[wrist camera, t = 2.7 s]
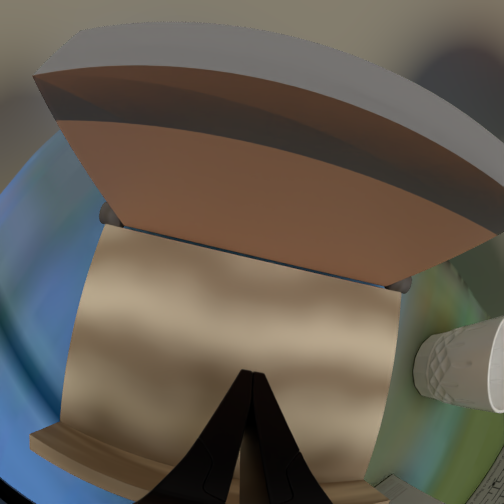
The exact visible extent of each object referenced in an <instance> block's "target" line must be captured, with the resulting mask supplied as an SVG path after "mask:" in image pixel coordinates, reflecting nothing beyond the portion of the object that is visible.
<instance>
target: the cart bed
mask: <svg viewBox="0 0 504 504" xmlns="http://www.w3.org/2000/svg"><path fill="white" fill-rule="evenodd" d="M99 219H100V222H101V223H102V224H105V226H104V229H103V231H102V234H101V237H100V240H99V242H98V245H97V248H96V251H95V254H94V257H93V260H92V263H91V266H90V269H89V272H88V275H87V279H86V282H85V285H84V289H83V292H82V296H81V300H80V303H79V307H78V311H77V315H76V319H75V324H74V328H73V333H72V338H71V343H70V348H69V353H68V359H67V365H66V371H65V378H64V386H63V394H62V404H61V416H60V422H58V423H55V424H53V425H51V426H48V427H46V428H43V429H41V430H39V431H36V432H34V433H31V434H29V435H30V450H32V451H33V452H35V453H36V454H38V455H39V456H41V457H43V458H44V459H46V460H47V461H49V462H51V463H52V464H54V465H56V466H58V467H59V468H61V469H63V470H65V471H67V472H68V473H70V474H72V475H74V476H76V477H78V478H80V479H82V480H84V481H86V482H88V483H91V484H93V485H95V486H97V487H99V488H102V489H104V490H106V491H109V492H111V493H114V494H116V495H119V496H122V497H124V498H127V499H130V500H133V501H138V500H139V499H141V498H142V497H144V496H145V495H146V494H147V493H149V492H150V491H151V490H152V489H153V488H154V487H155V486H156V485H157V484H158V483H159V482H160V481H161V480H162V479H163V478H164V477H165V476H166V475H167V474H168V473H169V472H170V471H171V470H172V469H173V468H174V467H175V466H176V465H177V464H178V463H179V462H180V461H181V460H182V459H183V457H184V456H185V455H186V454H187V452H188V451H189V450H190V448H191V447H192V445H193V444H194V442H195V441H196V439H197V438H198V437H199V435H200V434H201V432H202V431H203V429H204V428H205V426H206V424H207V423H208V421H209V420H210V418H211V417H212V415H213V414H214V412H215V410H216V409H217V407H218V406H219V404H220V403H221V401H222V399H223V398H224V396H225V395H226V393H227V391H228V390H229V388H230V386H231V385H232V383H233V382H234V380H235V378H236V377H237V375H238V373H239V372H240V370H241V369H246V370H251V371H252V372H253V371H257V372H262V373H264V374H265V375H266V378H267V380H268V382H269V384H270V387H271V389H272V391H273V393H274V396H275V398H276V400H277V402H278V404H279V407H280V409H281V411H282V413H283V415H284V417H285V420H286V422H287V424H288V426H289V428H290V430H291V432H292V435H293V437H294V439H295V441H296V443H297V445H298V447H299V449H300V451H299V452H301V453H302V455H303V457H304V459H305V461H306V463H307V465H308V467H309V469H310V471H311V472H312V474H313V475H314V477H315V478H316V480H317V482H318V483H319V484H320V486H321V487H322V489H323V490H324V492H325V493H326V494H327V496H328V497H329V499H330V500H331V501H332V503H333V504H389V502H390V499H388V498H387V497H386V496H384V495H383V494H382V493H380V492H379V491H378V490H376V489H375V488H374V487H372V486H371V485H370V484H368V483H367V482H366V481H365V480H363V479H364V476H365V473H366V471H367V468H368V465H369V462H370V459H371V456H372V453H373V449H374V446H375V443H376V439H377V436H378V432H379V429H380V425H381V421H382V417H383V413H384V409H385V405H386V400H387V395H388V391H389V386H390V380H391V375H392V369H393V363H394V357H395V350H396V343H397V335H398V326H399V315H400V303H401V293H403V294H405V293H407V292H408V291H409V289H410V287H411V283H412V278H411V276H410V277H408V278H406V279H403V280H401V281H398V282H396V283H393V284H391V285H388V286H384V287H385V289H383V288H379V287H374V286H370V285H365V284H361V283H356V282H352V281H348V280H343V279H339V278H334V277H330V276H326V275H321V274H317V273H312V272H308V271H304V270H299V269H295V268H291V267H286V266H282V265H278V264H273V263H269V262H265V261H260V260H256V259H252V258H247V257H243V256H239V255H235V254H230V253H226V252H222V251H217V250H213V249H209V248H205V247H200V246H196V245H192V244H188V243H184V242H179V241H175V240H171V239H167V238H163V237H158V236H154V235H150V234H146V233H142V232H137V231H133V230H129V229H125V228H123V227H124V225H123V223H122V222H121V221H120V219H119V218H118V217H117V215H116V214H115V212H114V211H113V210H112V208H111V207H110V205H109V204H108V203H107V202H105V203H104V204H103V205H102V207H101V210H100V214H99ZM239 491H240V451H239V455H238V459H237V463H236V467H235V471H234V474H233V478H232V482H231V486H230V489H229V493H228V497H227V500H226V502H225V503H226V504H239Z"/></svg>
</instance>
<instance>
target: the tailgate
mask: <svg viewBox="0 0 504 504" xmlns="http://www.w3.org/2000/svg"><path fill="white" fill-rule="evenodd" d="M32 76H33V78H34V80H35V83H36V85H37V86H38V88H39V91H40V92H41V94H42V96H43V98H44V100H45V102H46V104H47V106H48V108H49V109H50V111H51V113H52V115H53V117H54V119H55V120H56V122H57V124H58V126H59V127H60V129H61V131H62V133H63V134H64V136H65V138H66V139H67V141H68V143H69V144H70V146H71V148H72V149H73V151H74V153H75V154H76V156H77V157H78V159H79V161H80V162H81V164H82V165H83V167H84V168H85V170H86V171H87V173H88V175H89V176H90V178H91V179H92V181H93V182H94V184H95V185H96V187H97V188H98V189H99V191H100V192H101V194H102V195H103V197H104V198H105V200H106V201H107V203H108V204H109V205H110V207H111V208H112V210H113V211H114V212H115V214H116V215H117V217H118V218H119V219H120V221H121V222H122V223H123V225H124V226H128V227H133V228H137V229H141V230H145V231H149V232H154V233H158V234H162V235H166V236H171V237H175V238H179V239H183V240H188V241H192V242H196V243H200V244H205V245H209V246H213V247H217V248H222V249H226V250H230V251H234V252H239V253H243V254H247V255H252V256H256V257H260V258H264V259H269V260H273V261H277V262H282V263H286V264H290V265H295V266H299V267H303V268H308V269H312V270H316V271H321V272H325V273H329V274H334V275H338V276H342V277H347V278H351V279H355V280H360V281H364V282H368V283H373V284H377V285H382V286H388V285H391V284H393V283H396V282H398V281H401V280H403V279H406V278H408V277H410V276H413V275H415V274H417V273H420V272H422V271H424V270H427V269H429V268H431V267H434V266H436V265H438V264H440V263H442V262H445V261H447V260H449V259H451V258H453V257H455V256H457V255H460V254H462V253H464V252H466V251H468V250H470V249H472V248H474V247H476V246H478V245H480V244H482V243H484V242H486V241H488V240H490V239H492V238H493V237H495V236H497V235H499V234H501V233H503V232H504V144H503V143H502V142H501V141H500V140H498V139H497V138H496V137H495V136H494V135H492V134H491V133H490V132H489V131H488V130H486V129H485V128H484V127H482V126H481V125H480V124H478V123H477V122H476V121H474V120H473V119H472V118H470V117H469V116H467V115H466V114H465V113H463V112H462V111H460V110H459V109H457V108H456V107H454V106H453V105H451V104H450V103H448V102H447V101H445V100H443V99H442V98H440V97H438V96H437V95H435V94H433V93H432V92H430V91H428V90H426V89H425V88H423V87H421V86H419V85H417V84H416V83H414V82H412V81H409V80H408V79H406V78H404V77H402V76H400V75H398V74H396V73H394V72H392V71H389V70H387V69H385V68H383V67H381V66H378V65H376V64H374V63H371V62H369V61H367V60H364V59H361V58H359V57H356V56H354V55H351V54H348V53H346V52H343V51H340V50H337V49H334V48H331V47H328V46H324V45H321V44H318V43H315V42H311V41H307V40H304V39H300V38H296V37H292V36H288V35H283V34H278V33H274V32H269V31H264V30H258V29H252V28H246V27H239V26H231V25H221V24H211V23H195V22H146V23H132V24H121V25H113V26H104V27H98V28H92V29H86V30H81V31H79V32H78V33H77V34H76V35H74V36H73V37H72V38H71V39H70V40H68V41H67V42H66V43H65V44H64V45H63V46H62V47H61V48H60V49H58V50H57V51H56V52H55V53H54V54H53V55H52V56H51V57H50V58H49V59H48V60H47V61H46V62H45V63H44V64H43V65H42V66H41V67H40V68H39V69H38V70H37V71H36V72H35V73H34V74H33V75H32Z"/></svg>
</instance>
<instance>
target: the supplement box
mask: <svg viewBox="0 0 504 504" xmlns="http://www.w3.org/2000/svg"><path fill="white" fill-rule="evenodd" d="M375 489H376V490H378V491H379V492H380V493H382V494H383V495H384V496H386V497H387V498H388V499H390V502H389V504H445V503H443V502H441V501H439V500H437V499H435V498H433V497H431V496H429V495H427V494H426V493H424V492H422V491H420V490H418V489H417V488H415V487H413V486H411V485H410V484H408V483H406V482H405V481H403V480H401V479H399V478H398V477H396V476H395V475H391V476H390V477H388V478H387V479H386V480H384V481H383V482H381V483H380V484H379V485H377V486H376V487H375Z"/></svg>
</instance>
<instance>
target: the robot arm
mask: <svg viewBox="0 0 504 504" xmlns="http://www.w3.org/2000/svg"><path fill="white" fill-rule="evenodd" d="M239 451H240V491H239V504H333V503H332V501H331V500H330V499H329V497H328V496H327V494H326V493H325V492H324V490H323V489H322V487H321V486H320V484H319V483H318V482H317V480H316V478H315V477H314V475H313V474H312V472H311V471H310V469H309V467H308V465H307V463H306V461H305V459H304V457H303V455H302V453H301V452H299V451H300V449H299V447H298V445H297V443H296V441H295V439H294V437H293V435H292V432H291V430H290V428H289V426H288V424H287V422H286V420H285V417H284V415H283V413H282V411H281V409H280V407H279V404H278V402H277V400H276V398H275V396H274V393H273V391H272V389H271V387H270V384H269V382H268V380H267V378H266V375H265V374H264V373H262V372H257V371H253V372H252V371H251V370H246V369H241V370H240V372H239V373H238V375H237V377H236V378H235V380H234V382H233V383H232V385H231V386H230V388H229V390H228V391H227V393H226V395H225V396H224V398H223V399H222V401H221V403H220V404H219V406H218V407H217V409H216V410H215V412H214V414H213V415H212V417H211V418H210V420H209V421H208V423H207V424H206V426H205V428H204V429H203V431H202V432H201V434H200V435H199V437H198V438H197V439H196V441H195V442H194V444H193V445H192V447H191V448H190V450H189V451H188V452H187V454H186V455H185V456H184V457H183V459H182V460H181V461H180V462H179V463H178V464H177V465H176V466H175V467H174V468H173V469H172V470H171V471H170V472H169V473H168V474H167V475H166V476H165V477H164V478H163V479H162V480H161V481H160V482H159V483H158V484H157V485H156V486H155V487H154V488H153V489H152V490H151V491H150V492H149V493H147V494H146V495H145V496H144V497H142V498H141V499H139V500H138V501H136V502H135V503H133V504H226V503H225V502H226V500H227V497H228V493H229V489H230V486H231V482H232V478H233V474H234V471H235V467H236V463H237V459H238V455H239ZM0 504H36V503H34V502H33V501H31V500H30V499H28V498H27V497H26V496H24V495H23V494H21V493H20V492H19V491H17V490H16V489H15V488H13V487H12V486H11V485H9V484H8V483H7V482H6V481H4V480H3V479H2V478H1V477H0ZM502 504H504V503H502Z"/></svg>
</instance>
